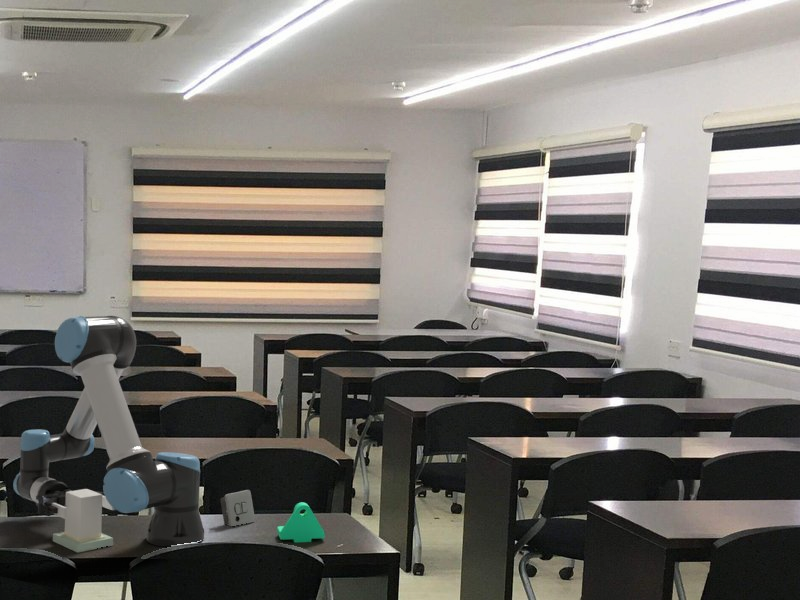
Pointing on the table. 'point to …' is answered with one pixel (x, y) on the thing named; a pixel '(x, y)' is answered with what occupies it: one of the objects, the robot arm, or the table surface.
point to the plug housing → (83, 514)
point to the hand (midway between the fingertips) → (90, 509)
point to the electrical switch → (237, 508)
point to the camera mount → (301, 525)
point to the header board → (82, 542)
